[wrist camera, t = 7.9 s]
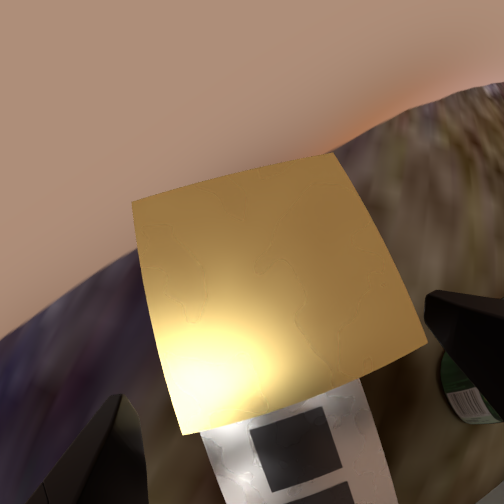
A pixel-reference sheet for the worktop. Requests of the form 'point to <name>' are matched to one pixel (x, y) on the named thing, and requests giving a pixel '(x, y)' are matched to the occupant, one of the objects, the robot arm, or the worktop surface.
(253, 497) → the rail
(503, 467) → the worktop surface
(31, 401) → the worktop surface
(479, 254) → the worktop surface
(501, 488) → the pale grey rounded block
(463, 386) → the coffee jar
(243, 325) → the gold rectangular block
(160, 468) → the worktop surface
